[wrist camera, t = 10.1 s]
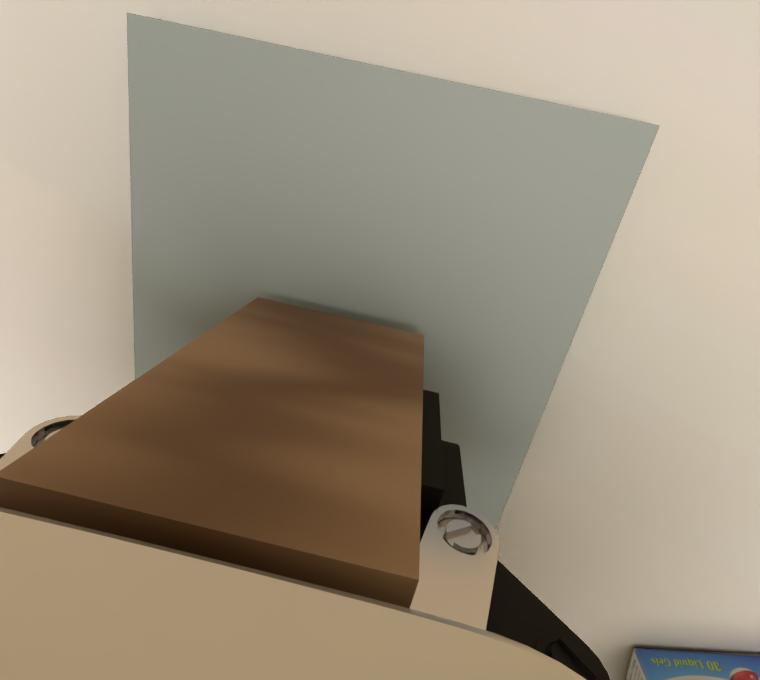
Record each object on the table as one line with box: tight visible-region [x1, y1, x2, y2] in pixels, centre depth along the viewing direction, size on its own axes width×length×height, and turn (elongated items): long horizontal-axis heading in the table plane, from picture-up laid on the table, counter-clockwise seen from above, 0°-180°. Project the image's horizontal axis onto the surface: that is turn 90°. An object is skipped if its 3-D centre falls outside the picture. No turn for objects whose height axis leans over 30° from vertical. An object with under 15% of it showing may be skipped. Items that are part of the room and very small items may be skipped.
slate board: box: [127, 13, 660, 529], centre depth 14 cm, size 14×18×1 cm
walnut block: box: [0, 297, 424, 609], centre depth 9 cm, size 5×5×8 cm
